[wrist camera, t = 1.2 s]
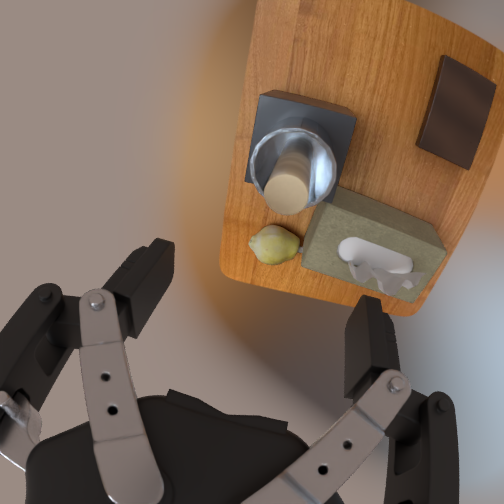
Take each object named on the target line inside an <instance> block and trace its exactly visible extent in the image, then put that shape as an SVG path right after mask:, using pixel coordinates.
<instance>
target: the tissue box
mask: <svg viewBox="0 0 504 504" xmlns="http://www.w3.org/2000/svg"><path fill="white" fill-rule="evenodd" d="M446 255H447V251H446V249H445V247H444V245H443V244H442V242H441V240H440V238H439V236H438V235H437V233H436V231H435V230H434V228H433V226H432V224H429V223H427V222H425V221H423V220H420V219H418V218H416V217H414V216H411V215H409V214H407V213H405V212H402V211H400V210H398V209H395V208H393V207H390V206H388V205H386V204H383V203H381V202H378V201H376V200H373V199H371V198H368V197H366V196H363V195H361V194H358V193H356V192H353V191H350V190H348V189H345V188H342V187H340V186H337V189H336V192H335V196H334V199H333V202H332V204H331V203H327V202H324V201H321V202H319V203H318V204H317V206H316V209H315V211H314V214H313V217H312V219H311V222H310V224H309V227H308V229H307V231H306V234H305V237H304V243H303V252H302V261H301V266H302V267H304V268H307V269H310V270H313V271H316V272H319V273H322V274H325V275H328V276H331V277H335V278H338V279H341V280H344V281H347V282H350V283H353V284H356V285H359V286H362V287H365V288H368V289H371V290H374V291H377V292H380V293H383V294H386V295H388V296H392V297H395V298H398V299H401V300H404V301H407V302H410V303H414V302H415V300H416V299H417V297H418V296H419V295H420V293H421V292H422V290H423V289H424V288H425V286H426V285H427V283H428V282H429V280H430V279H431V278H432V276H433V275H434V273H435V272H436V270H437V269H438V267H439V266H440V264H441V262H442V261H443V259H444V258H445V256H446Z"/></svg>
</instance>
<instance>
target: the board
mask: <svg viewBox="0 0 504 504" xmlns="http://www.w3.org/2000/svg"><path fill="white" fill-rule="evenodd" d="M495 89H496V84H494V83H493V82H491V81H490V80H488V79H487V78H485V77H484V76H482V75H480V74H479V73H477V72H475V71H474V70H472V69H470V68H468V67H467V66H465V65H463V64H461V63H460V62H458V61H456V60H454V59H452V58H450V57H448V56H446V55H441V59H440V63H439V67H438V71H437V75H436V79H435V82H434V86H433V90H432V93H431V97H430V100H429V104H428V107H427V110H426V114H425V117H424V120H423V123H422V126H421V129H420V132H419V135H418V138H417V141H416V145H417V146H418V147H419V148H422V149H424V150H426V151H429V152H431V153H433V154H435V155H438V156H440V157H442V158H444V159H446V160H448V161H451V162H453V163H455V164H457V165H459V166H461V167H463V168H465V169H467V170H469V169H470V166H471V164H472V161H473V159H474V156H475V153H476V151H477V148H478V145H479V142H480V139H481V136H482V133H483V130H484V127H485V124H486V121H487V118H488V114H489V111H490V108H491V104H492V100H493V97H494V93H495Z"/></svg>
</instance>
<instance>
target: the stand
mask: <svg viewBox="0 0 504 504" xmlns="http://www.w3.org/2000/svg"><path fill="white" fill-rule="evenodd" d="M288 117H306V118H309V119H311V120H314V121H316V122H318V123H319V124H320V125H321V126H322V127H323V128H324V129H325V130H326V131H327V132H328V134H329V136H330V138H331V141H332V143H333V147H334V153H335V158H336V163H337V169H336V181H335V183H334V185H333V187H332V189H331V191H330V193H329V195H328V196H326V197H325V198H324V199H323V200H322V201H324V202H327V203H331V204H332V202H333V199H334V196H335V192H336V189H337V186H338V183H339V179H340V176H341V173H342V169H343V166H344V163H345V159H346V156H347V152H348V149H349V145H350V142H351V138H352V135H353V131H354V127H355V124H356V120H357V118H356V117H355V116H354V115H353V113H352V112H351V111H350V110H349V109H348V108H346V107H343V106H339V105H336V104H332V103H329V102H325V101H321V100H317V99H313V98H309V97H305V96H301V95H296V94H292V93H287V92H283V91H278V90H272V91H269V92H266V93H263V94H260V97H259V102H258V107H257V113H256V118H255V124H254V130H253V135H252V141H251V147H250V152H249V158H248V164H247V170H246V175H245V182H248V183H253V181H252V179H251V172H250V160H251V157H252V154H253V151H254V148H255V146H256V145H257V144H258V143H259V142H260V140H261V139H262V138H263V137H264V136H265V135H266V133H267V132H268V131H269V130H270V129H271V128H272V127H273V126H274V125H275V124H276V123H277V122H278V121H281V120H283V119H286V118H288ZM253 184H254V183H253Z"/></svg>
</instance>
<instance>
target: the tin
mask: <svg viewBox="0 0 504 504" xmlns="http://www.w3.org/2000/svg"><path fill="white" fill-rule="evenodd" d="M296 137H299V138H303V139H305V140H307V141H308V142H309V143H310V145H311V146H312V150H313V155H312V167H311V178H310V189H309V199H308V202H307V205H306V206H305V208H308V207H311V206H314V205H317V204H318V203H319V202H321V201H322V200H323V199H324V198H325V197H326V196H328V195H329V193H330V191H331V189H332V187H333V185H334V183H335V181H336V169H337V163H336V158H335V153H334V147H333V143H332V141H331V138H330V136H329V134H328V132H327V131H326V130H325V129H324V128H323V127H322V126H321V125H320V124H319V123H318V122H316V121H314V120H311V119H309V118H306V117H288V118H286V119H283V120H281V121H278V122H277V123H276V124H275V125H274V126H273V127H272V128H271V129H270V130H269V131H268V132H267V133H266V135H265V136H264V137H263V138H262V139H261V140H260V142H259V143H258V144H257V145H256V146H255V148H254V151H253V154H252V157H251V160H250V172H251V179H252V181H253V183H254V185H255V187H256V189H257V190H258V192H259V193H260V194H261V195H262V196H263V197H264V189H265V186H266V184H267V182H268V180H269V178H270V175H271V173H272V171H273V169H274V167H275V165H276V163H277V160H278V158H279V156H280V154H281V152H282V150H283V148H284V145H285V144H286V142H287V141H288V140H290V139H292V138H296ZM305 208H304V209H305Z"/></svg>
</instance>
